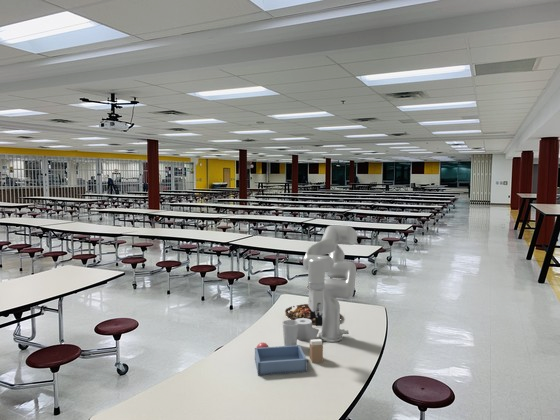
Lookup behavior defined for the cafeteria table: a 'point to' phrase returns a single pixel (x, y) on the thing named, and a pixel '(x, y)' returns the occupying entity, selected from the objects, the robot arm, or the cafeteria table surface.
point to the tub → (280, 360)
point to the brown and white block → (316, 350)
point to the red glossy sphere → (262, 345)
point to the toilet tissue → (306, 330)
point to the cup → (290, 332)
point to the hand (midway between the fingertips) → (316, 321)
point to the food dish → (301, 313)
